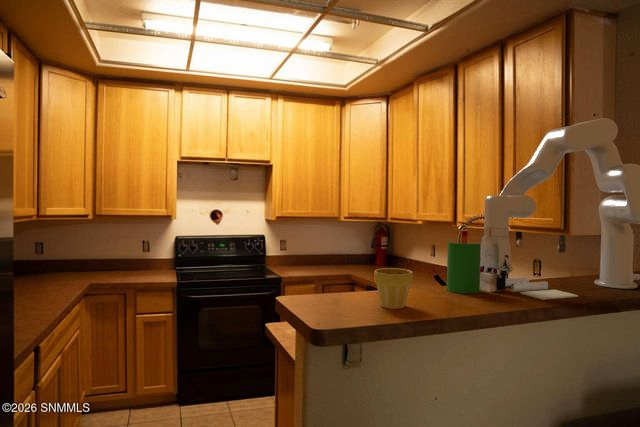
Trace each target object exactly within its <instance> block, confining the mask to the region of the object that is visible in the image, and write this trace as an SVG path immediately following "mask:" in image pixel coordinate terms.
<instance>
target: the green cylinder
mask: <svg viewBox="0 0 640 427" xmlns="http://www.w3.org/2000/svg"><path fill="white" fill-rule="evenodd" d="M468 233H469V232H468V229H461V234H460V235H461V236H460V237H461V242H460V243H459V242H452V241H447V261H446V262H447V266H446V269H447V271H446V276H447V277H446V290H447V291H448V292H451V293H456V294H465V295H466V294H467V295H469V294H479V293H480V291H481V289H480V273H481V265H480V251H481V242H477V243H468V236H469V234H468Z"/></svg>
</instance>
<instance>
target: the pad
mask: <svg viewBox="0 0 640 427" xmlns="http://www.w3.org/2000/svg"><path fill="white" fill-rule="evenodd" d="M519 293H520V295H524V296H527V297H530V298H535V299H538V300H543V301H545V300H555V299H557V300H558V299H567V298H579V295H578V294H574V293H570V292H567V291H562V290H558V289H548V290H534V291H520V292H519Z"/></svg>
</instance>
